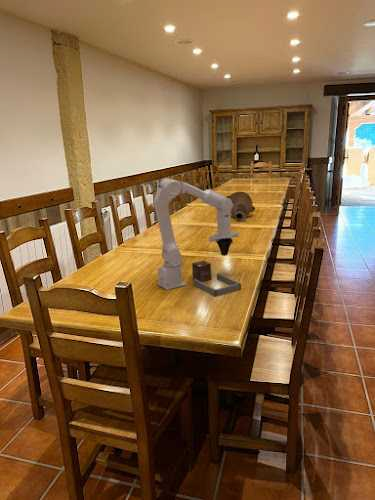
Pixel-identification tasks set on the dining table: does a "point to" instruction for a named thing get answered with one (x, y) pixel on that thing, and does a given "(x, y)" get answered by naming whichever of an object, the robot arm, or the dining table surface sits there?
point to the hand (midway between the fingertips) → (224, 255)
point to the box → (201, 271)
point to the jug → (241, 205)
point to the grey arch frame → (216, 292)
